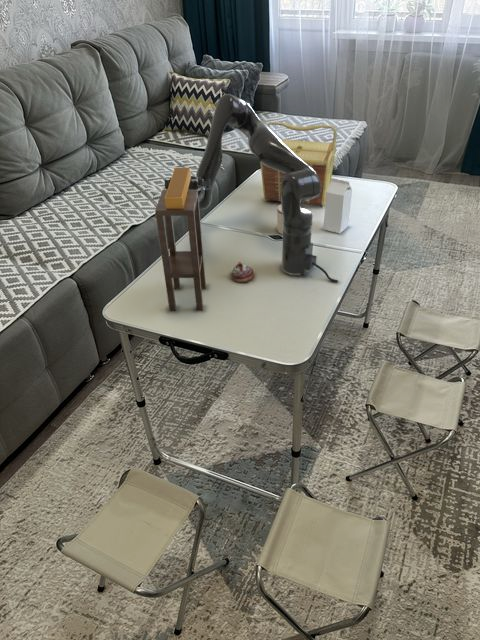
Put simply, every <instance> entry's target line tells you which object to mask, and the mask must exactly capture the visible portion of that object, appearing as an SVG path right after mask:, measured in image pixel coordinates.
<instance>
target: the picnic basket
mask: <svg viewBox="0 0 480 640" xmlns="http://www.w3.org/2000/svg"><path fill="white" fill-rule="evenodd" d="M265 125H266V126H267V127H268V128H270V126H273V125H274V126H282V127H284V128H286V129H287V130H288V129H289V130H291V131H298V132H310V131H314V130H318V129H331V130H332V131H333V137H332V142H324V141H323V142H322V141H309V140H296V139H294V140H293V139H281V138H279V139H280V140H281V141H282V142H283V143H284V144H285V145H286V146H287V147H288V148H289V149H290V150H291V151H292V152H293V153H294V154H295V155H296V156H297V157H298V158H299V159H301V160H302V161H303V162H304V163H306V164H307V165H308V166H309V167H311V168H312V169H313V170H314V171H315V172H316V174H317V175H318V177H319V179H320V182H321V192H320V194H319V195H318V196H317V197H315V198H313V199H311V200H307V201H304V202H300V204H307V205H318V206H322V207H325V202H326V191H327V189H328V187H329V184H330V182H331V178H333V170H334V165H335V164H334V163H335V157H336V151H337V146H338V145H337V137H338V131H337V130H338V129H337V128H336V127H335V126H334V125H329V124H317V125H315V124H314V125H308V126H300V125H293V124H291V123H286V122H280V121H269V122H268V123H265ZM259 164H260V173H261V181H262V193H263V198H264V201H265V202H268V201H273V202H281V181H282V178H283V176H284V175H285V173H282V172H280V171H277V170H274V169H272V168H269V167H267V166H265V165H264V164H262V163H261V162H260V161H259Z"/></svg>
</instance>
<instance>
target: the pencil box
mask: <svg viewBox="0 0 480 640" xmlns="http://www.w3.org/2000/svg"><path fill="white" fill-rule="evenodd" d="M191 176H192V172H191V167H174V169H173V172H172V175H171V177H170V178H171V181H170V184H169V187H168V190H167V189H166V190H167V193H166V196H165V204H166V209H183V208H184V204H185V200H186V196H187V192H188V187H189V183H190V179H191Z"/></svg>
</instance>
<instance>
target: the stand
mask: <svg viewBox="0 0 480 640" xmlns="http://www.w3.org/2000/svg"><path fill="white" fill-rule="evenodd" d="M166 193H167V189H162V190H161V193H160V196H159V199H158V201H157V205H156V207H155V210H154V212H155V219H156V225H157V232H158V233H157V234H158V240H159V241H158V242H159V247H160V254H161V261H162V269H163V275H164V282H165V288H166V295H167V302H168V310H169V312H175V311H177V304H176V295H175V290H180V289H181V279H193V288H194V297H195V306H196V311H198V312H199V311H204V301H203V300H204V299H203V291H202V290H204V289H205V290H206V287H207V284H206V283H207V281H206V269H205V259H204V248H203V234H202V223H201V222H202V221H201V209H200V208H199V198H198V190H188V192H187V196H186V200H185V204H184V208H183V209H166V204H165V196H166ZM183 216H184V217H186V219H187V228H188V237H189V246H190V247H189V248H190V250H177V245H176V237H175V229H174V221H173V217H183Z"/></svg>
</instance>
